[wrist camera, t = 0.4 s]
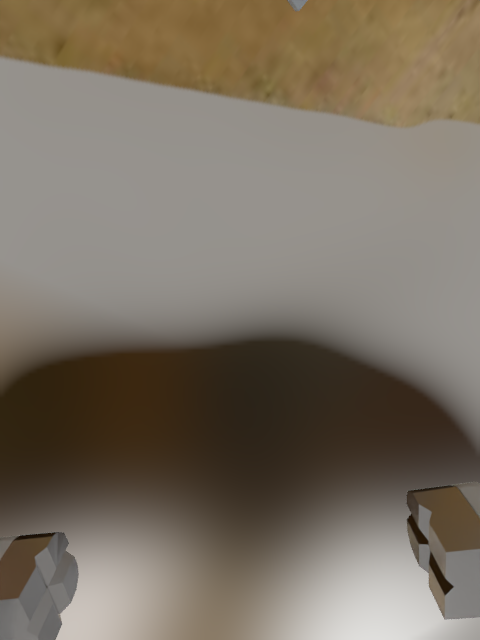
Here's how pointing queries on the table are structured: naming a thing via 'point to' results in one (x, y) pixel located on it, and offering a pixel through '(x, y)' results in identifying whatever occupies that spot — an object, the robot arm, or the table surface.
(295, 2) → the socket board
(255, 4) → the table surface
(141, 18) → the table surface
